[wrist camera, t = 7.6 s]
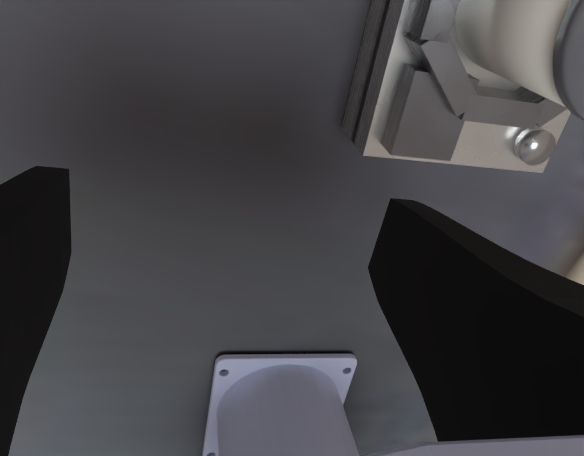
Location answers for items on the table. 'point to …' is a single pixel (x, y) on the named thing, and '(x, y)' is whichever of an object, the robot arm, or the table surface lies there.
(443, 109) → the square housing with collar
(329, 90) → the table surface
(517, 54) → the lens
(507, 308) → the robot arm
